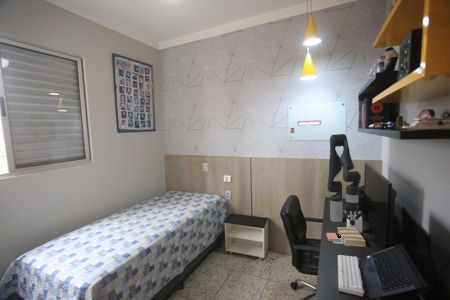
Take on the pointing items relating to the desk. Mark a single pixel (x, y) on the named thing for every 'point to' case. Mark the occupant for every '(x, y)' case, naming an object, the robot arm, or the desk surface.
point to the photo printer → (357, 224)
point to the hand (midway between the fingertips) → (352, 225)
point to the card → (332, 237)
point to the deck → (351, 237)
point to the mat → (339, 241)
